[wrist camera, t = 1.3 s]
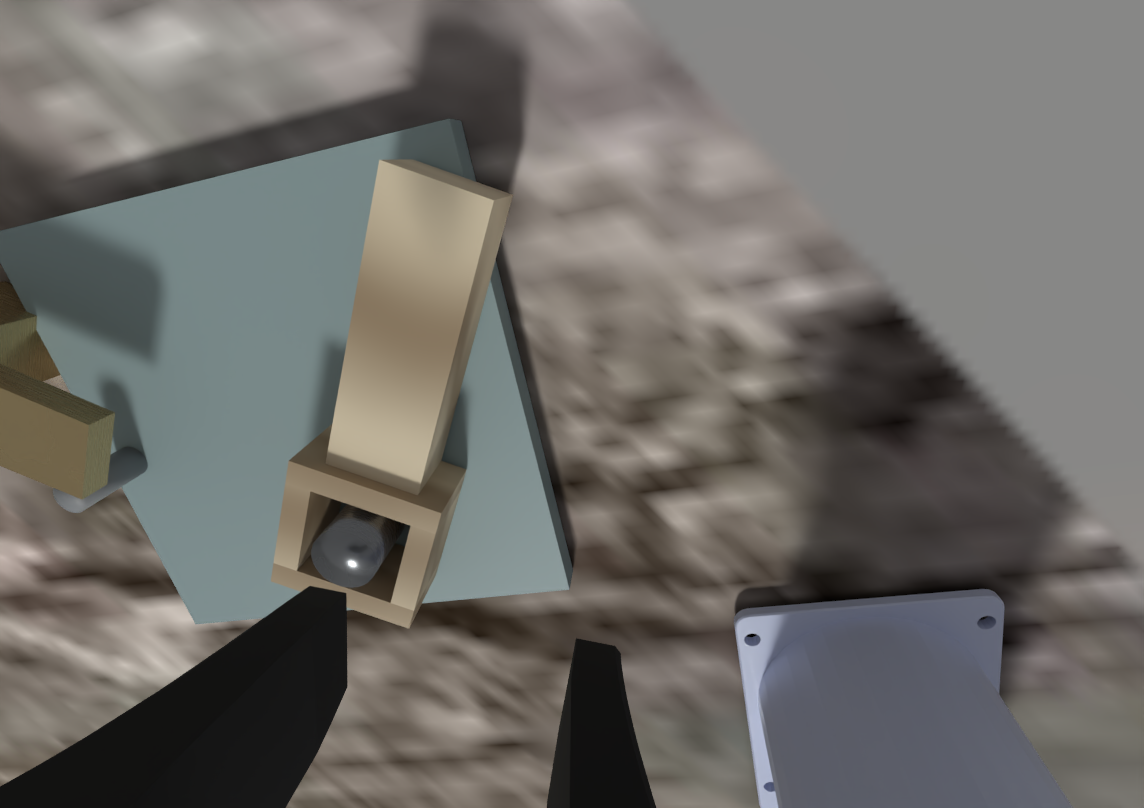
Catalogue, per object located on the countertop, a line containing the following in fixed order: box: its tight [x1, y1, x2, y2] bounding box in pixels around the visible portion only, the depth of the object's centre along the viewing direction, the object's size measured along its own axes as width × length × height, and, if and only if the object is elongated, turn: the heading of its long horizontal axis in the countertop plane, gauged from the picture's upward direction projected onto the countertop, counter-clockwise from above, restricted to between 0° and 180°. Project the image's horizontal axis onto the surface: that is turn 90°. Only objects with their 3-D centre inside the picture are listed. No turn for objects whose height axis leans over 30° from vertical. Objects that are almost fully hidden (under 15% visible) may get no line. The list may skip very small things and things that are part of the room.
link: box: [271, 159, 513, 628], centre depth 16 cm, size 12×4×2 cm, turn 162°
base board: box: [0, 118, 573, 624], centre depth 17 cm, size 14×14×3 cm
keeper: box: [0, 281, 115, 499], centre depth 17 cm, size 7×2×4 cm, turn 67°
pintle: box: [311, 504, 407, 588], centre depth 18 cm, size 2×2×4 cm
